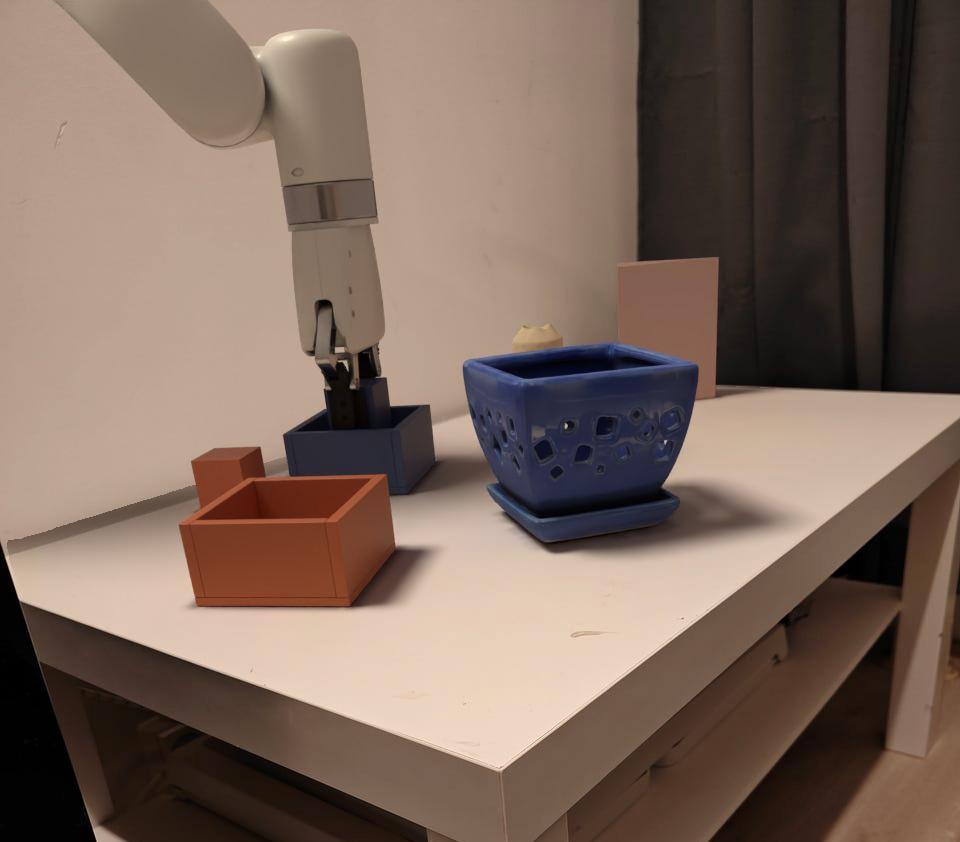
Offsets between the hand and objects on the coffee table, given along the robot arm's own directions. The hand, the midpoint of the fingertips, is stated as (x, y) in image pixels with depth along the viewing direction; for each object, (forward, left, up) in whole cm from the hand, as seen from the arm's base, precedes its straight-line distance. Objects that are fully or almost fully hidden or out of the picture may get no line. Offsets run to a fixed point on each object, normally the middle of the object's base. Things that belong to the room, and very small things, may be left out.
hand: (361, 427), depth 85 cm
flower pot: (+21, -13, -5) cm, 25 cm away
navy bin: (0, 0, -5) cm, 5 cm away
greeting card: (+26, +30, -5) cm, 40 cm away
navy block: (0, 0, -1) cm, 1 cm away
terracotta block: (-10, -7, -5) cm, 13 cm away
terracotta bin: (+3, -25, -5) cm, 25 cm away
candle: (+13, +24, -5) cm, 28 cm away
